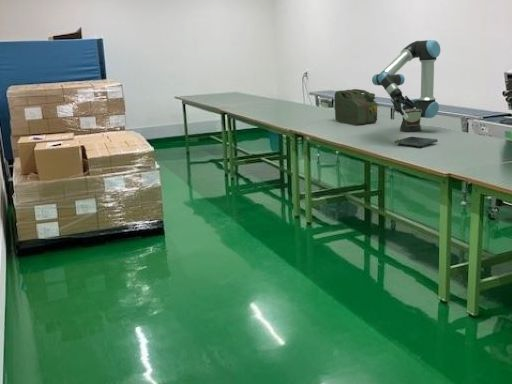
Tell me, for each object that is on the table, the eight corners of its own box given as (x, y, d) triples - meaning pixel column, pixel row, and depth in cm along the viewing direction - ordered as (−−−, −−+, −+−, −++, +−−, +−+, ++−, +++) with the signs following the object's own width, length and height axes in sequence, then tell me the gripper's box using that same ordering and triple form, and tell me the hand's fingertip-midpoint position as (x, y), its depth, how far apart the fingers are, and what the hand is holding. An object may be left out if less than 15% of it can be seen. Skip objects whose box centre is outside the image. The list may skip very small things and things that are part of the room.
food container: (417, 123, 351) (417, 108, 348) (421, 124, 345) (422, 109, 342) (399, 125, 348) (400, 109, 346) (404, 126, 343) (404, 110, 340)
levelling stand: (411, 140, 361) (411, 135, 360) (437, 144, 346) (437, 137, 345) (394, 145, 351) (394, 139, 350) (420, 148, 335) (420, 142, 334)
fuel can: (358, 126, 437) (357, 92, 430) (335, 121, 468) (334, 90, 461) (377, 123, 444) (377, 90, 437) (353, 119, 475) (353, 88, 468)
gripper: (402, 94, 360) (421, 118, 352) (378, 97, 347) (397, 123, 339) (409, 86, 354) (428, 111, 347) (385, 89, 341) (404, 115, 333)
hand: (413, 117), depth 343 cm, fingers closed on food container, 11 cm apart
